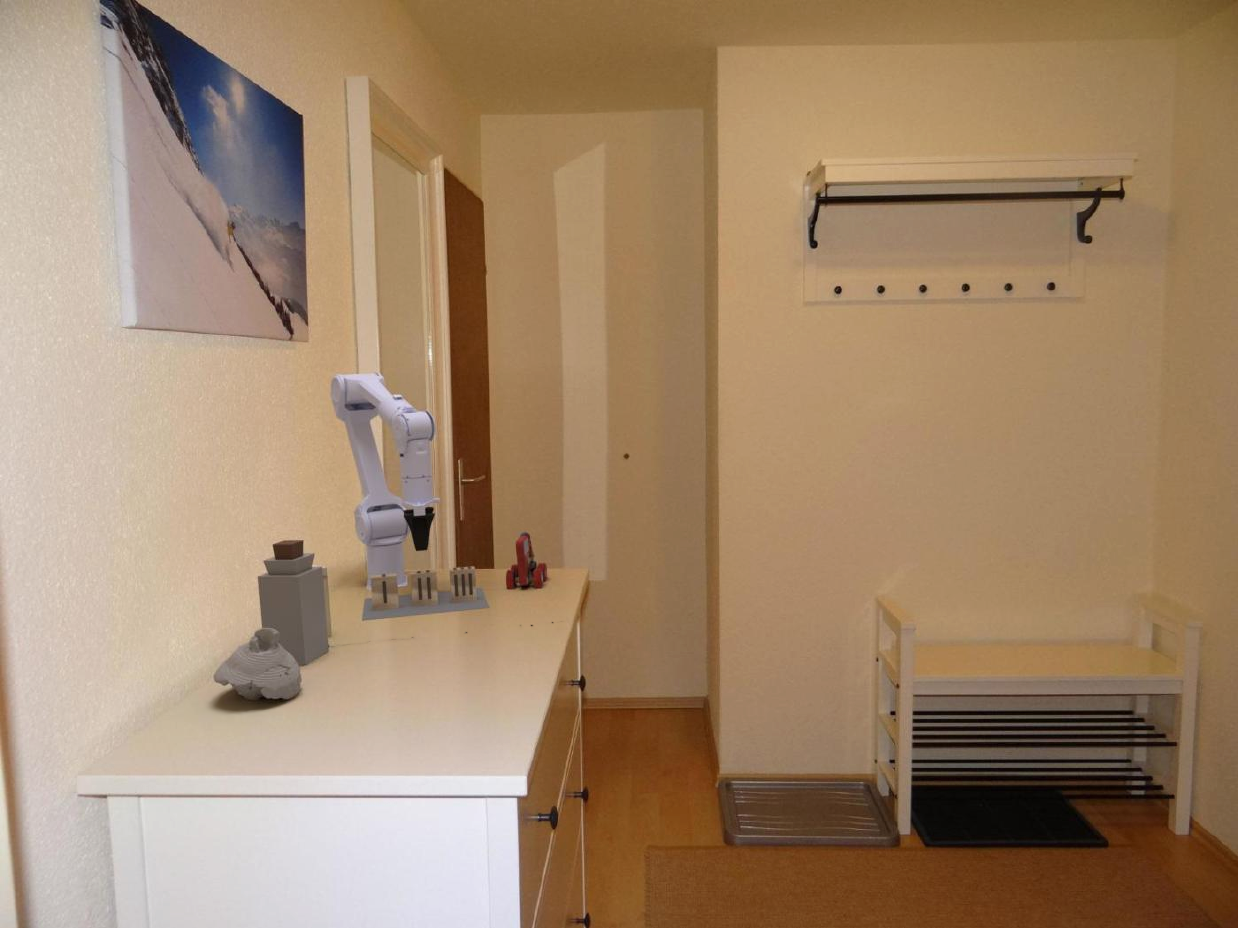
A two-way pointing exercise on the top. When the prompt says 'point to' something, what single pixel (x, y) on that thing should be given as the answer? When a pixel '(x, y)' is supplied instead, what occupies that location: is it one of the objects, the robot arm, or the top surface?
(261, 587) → the perfume bottle
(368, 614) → the mat
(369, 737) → the top surface
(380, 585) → the tile one
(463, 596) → the tile three
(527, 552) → the red wheeled toy
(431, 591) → the tile two
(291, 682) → the grey clay mound
